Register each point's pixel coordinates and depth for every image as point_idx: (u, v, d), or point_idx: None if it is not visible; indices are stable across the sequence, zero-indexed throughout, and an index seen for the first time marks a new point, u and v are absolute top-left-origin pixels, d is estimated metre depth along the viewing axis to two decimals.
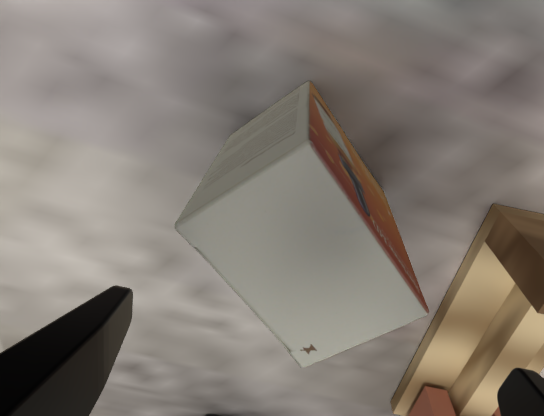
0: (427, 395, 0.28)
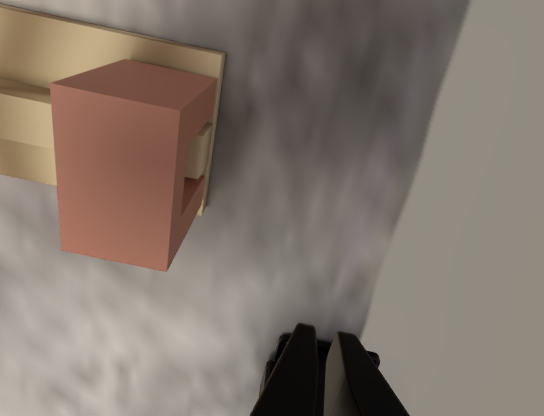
0: None
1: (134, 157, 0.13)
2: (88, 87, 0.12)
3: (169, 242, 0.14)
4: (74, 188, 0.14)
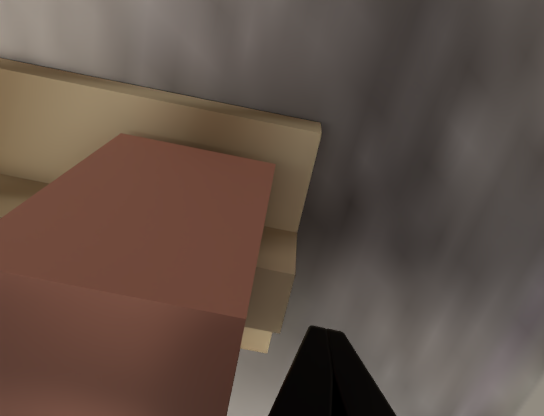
0: None
1: (140, 391, 0.06)
2: (37, 254, 0.06)
3: None
4: None
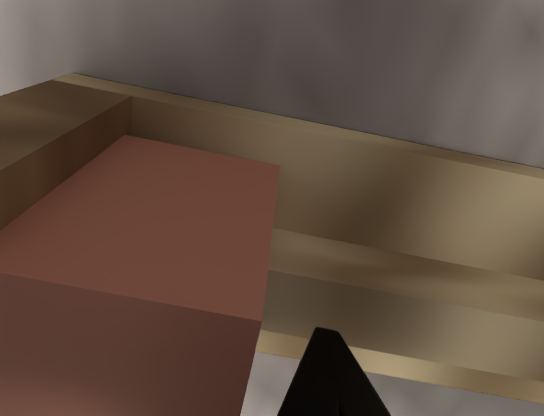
0: None
1: (153, 394, 0.06)
2: (49, 259, 0.06)
3: None
4: None
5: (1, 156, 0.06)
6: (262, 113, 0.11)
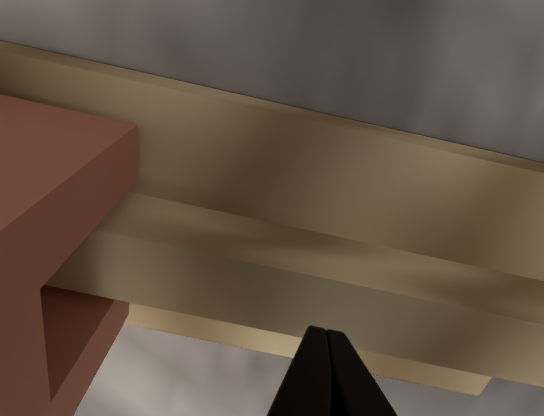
0: None
1: None
2: None
3: None
4: None
5: None
6: (128, 70, 0.10)
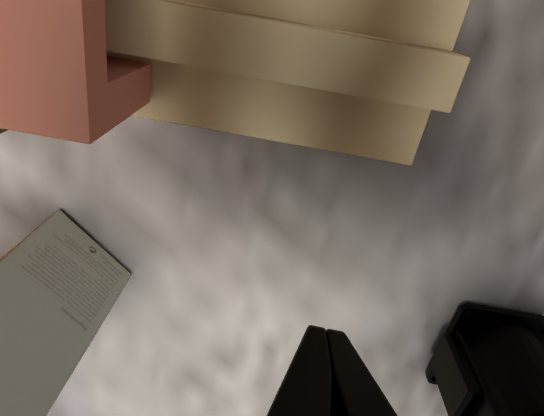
0: None
1: None
2: None
3: (88, 102, 0.12)
4: None
5: None
6: None
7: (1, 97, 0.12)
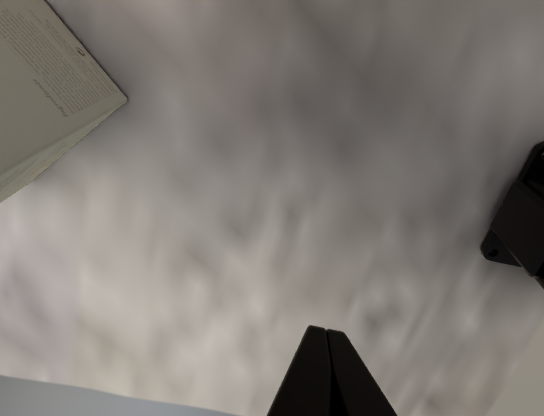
0: None
1: None
2: None
3: None
4: None
5: None
6: None
7: None
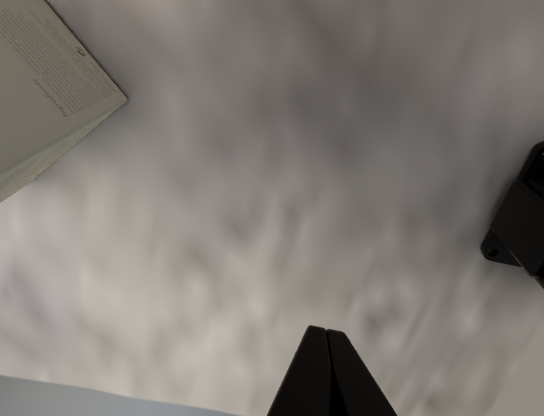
0: None
1: None
2: None
3: None
4: None
5: None
6: None
7: None
